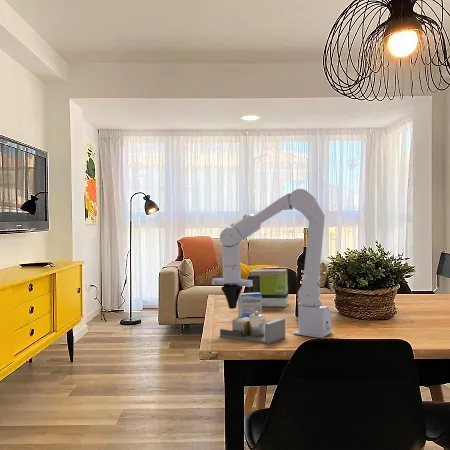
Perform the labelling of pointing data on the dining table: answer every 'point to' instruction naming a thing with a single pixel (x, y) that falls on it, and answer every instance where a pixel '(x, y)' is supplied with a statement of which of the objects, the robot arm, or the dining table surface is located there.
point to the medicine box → (249, 304)
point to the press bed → (272, 334)
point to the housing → (256, 325)
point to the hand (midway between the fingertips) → (232, 308)
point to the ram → (241, 326)
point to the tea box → (270, 286)
